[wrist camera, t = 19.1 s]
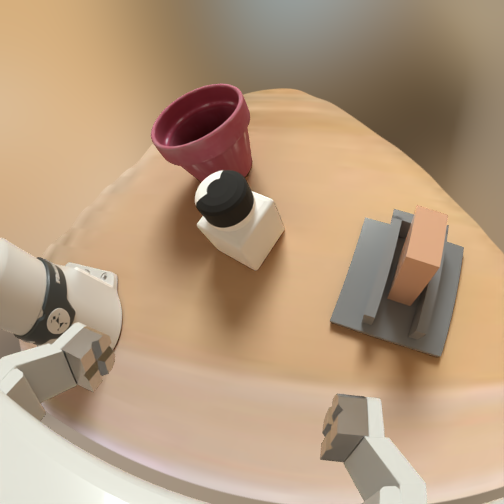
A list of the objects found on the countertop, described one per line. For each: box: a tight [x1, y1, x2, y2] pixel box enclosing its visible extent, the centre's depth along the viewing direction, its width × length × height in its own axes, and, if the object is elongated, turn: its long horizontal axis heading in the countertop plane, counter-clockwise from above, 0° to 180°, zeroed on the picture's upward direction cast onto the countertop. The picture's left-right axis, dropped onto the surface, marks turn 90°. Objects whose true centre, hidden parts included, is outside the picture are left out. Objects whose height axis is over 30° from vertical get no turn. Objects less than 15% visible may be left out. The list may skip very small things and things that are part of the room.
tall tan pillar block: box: [387, 205, 448, 306], centre depth 26 cm, size 3×5×12 cm, turn 154°
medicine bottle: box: [195, 170, 285, 271], centre depth 36 cm, size 7×7×12 cm
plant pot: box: [151, 84, 252, 182], centre depth 43 cm, size 14×14×13 cm
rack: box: [330, 209, 464, 357], centre depth 30 cm, size 14×14×5 cm
